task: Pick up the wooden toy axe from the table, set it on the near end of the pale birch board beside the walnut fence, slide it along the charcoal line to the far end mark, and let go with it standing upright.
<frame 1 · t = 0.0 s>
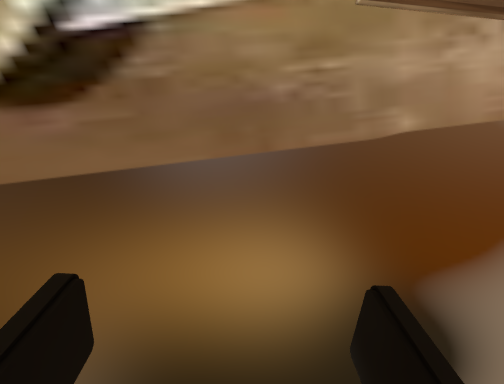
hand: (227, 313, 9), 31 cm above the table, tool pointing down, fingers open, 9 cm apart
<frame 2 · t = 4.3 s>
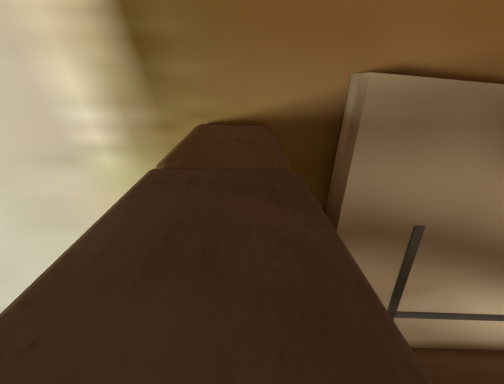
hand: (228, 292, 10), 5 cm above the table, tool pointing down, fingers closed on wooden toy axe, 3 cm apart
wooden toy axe: (232, 222, 15), on the table, touching gripper
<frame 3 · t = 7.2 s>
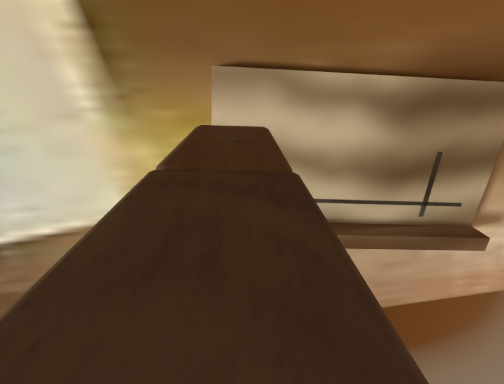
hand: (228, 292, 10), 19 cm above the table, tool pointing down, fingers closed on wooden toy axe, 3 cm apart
marking board: (349, 158, 29), on the table
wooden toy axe: (232, 223, 15), point 14 cm above the table, touching gripper
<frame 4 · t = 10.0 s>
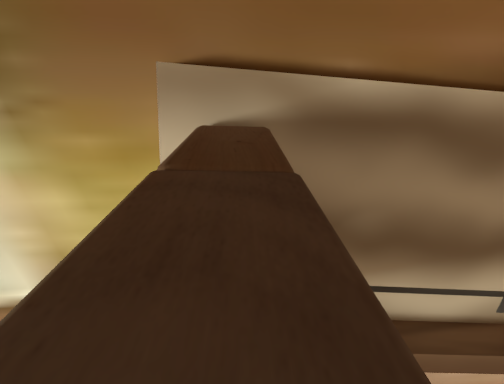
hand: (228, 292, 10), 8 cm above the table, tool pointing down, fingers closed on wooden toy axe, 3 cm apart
marking board: (389, 218, 18), on the table
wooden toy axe: (232, 223, 15), point 2 cm above the table, touching gripper
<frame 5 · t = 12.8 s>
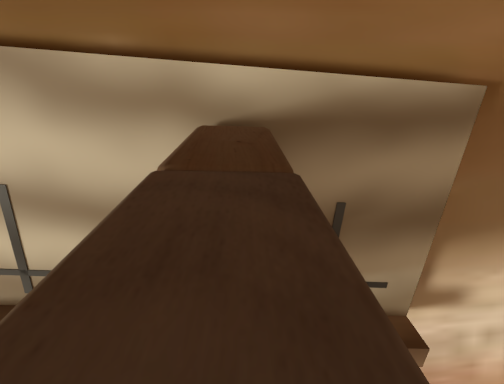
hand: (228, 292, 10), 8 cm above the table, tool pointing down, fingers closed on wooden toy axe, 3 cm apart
marking board: (201, 204, 17), on the table
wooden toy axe: (232, 223, 15), point 2 cm above the table, touching gripper
when the fingers open (8 cm above the table, at t = 15.4 s): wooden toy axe stays where it is, resting on marking board.
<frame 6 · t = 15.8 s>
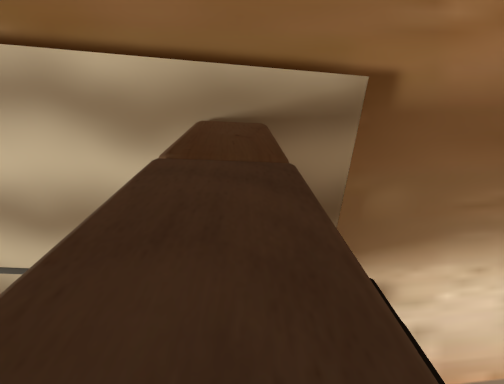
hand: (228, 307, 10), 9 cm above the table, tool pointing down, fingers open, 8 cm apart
marking board: (102, 198, 17), on the table
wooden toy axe: (229, 217, 16), point 2 cm above the table, touching marking board
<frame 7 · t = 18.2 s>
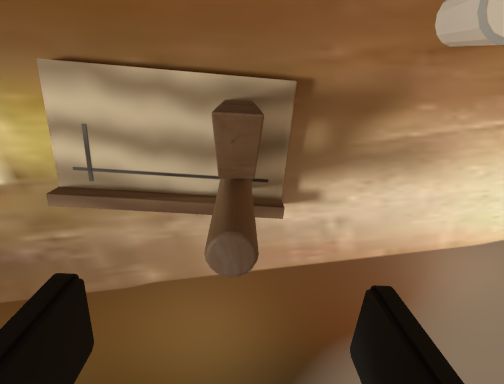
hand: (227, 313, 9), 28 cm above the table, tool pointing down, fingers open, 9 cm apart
shot glass: (458, 19, 32), on the table
marking board: (175, 139, 35), on the table
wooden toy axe: (237, 146, 34), point 2 cm above the table, touching marking board
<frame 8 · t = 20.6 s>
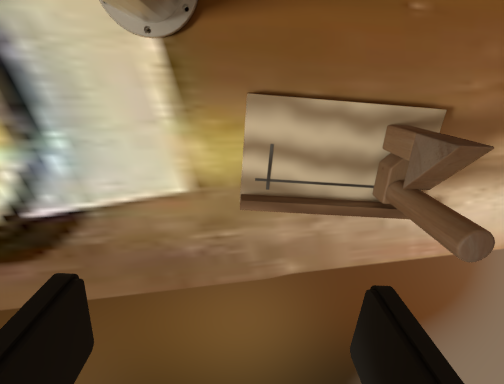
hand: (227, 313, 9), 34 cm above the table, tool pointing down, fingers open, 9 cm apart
marking board: (334, 155, 43), on the table
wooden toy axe: (389, 161, 42), point 2 cm above the table, touching marking board
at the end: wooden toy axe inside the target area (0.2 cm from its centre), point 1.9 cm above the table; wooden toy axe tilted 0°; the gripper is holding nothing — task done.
